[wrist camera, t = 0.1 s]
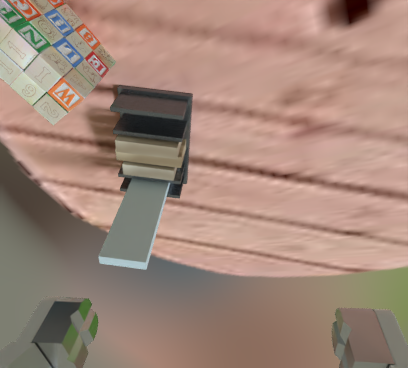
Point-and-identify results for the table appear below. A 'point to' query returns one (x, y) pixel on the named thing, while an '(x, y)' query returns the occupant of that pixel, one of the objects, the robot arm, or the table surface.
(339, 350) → the robot arm
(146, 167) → the offcut
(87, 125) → the table surface
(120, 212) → the tall panel
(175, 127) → the slot rack
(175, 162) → the offcut
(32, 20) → the stack of blocks
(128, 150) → the offcut
